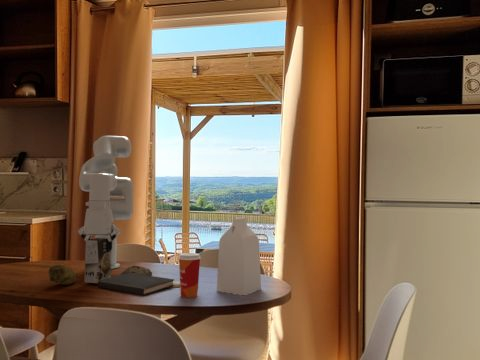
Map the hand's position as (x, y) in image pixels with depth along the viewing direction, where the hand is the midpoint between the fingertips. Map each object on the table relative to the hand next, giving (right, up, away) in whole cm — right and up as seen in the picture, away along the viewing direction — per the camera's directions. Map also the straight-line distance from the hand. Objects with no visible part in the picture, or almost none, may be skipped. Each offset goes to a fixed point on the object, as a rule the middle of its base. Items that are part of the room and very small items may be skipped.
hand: (98, 251), depth 162 cm
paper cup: (+37, -12, -19) cm, 43 cm away
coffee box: (0, -12, 0) cm, 12 cm away
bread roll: (+11, -13, +12) cm, 21 cm away
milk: (+54, -13, -10) cm, 56 cm away
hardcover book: (+16, -12, -7) cm, 21 cm away
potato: (-12, -12, -4) cm, 18 cm away
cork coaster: (+30, -12, -3) cm, 33 cm away
